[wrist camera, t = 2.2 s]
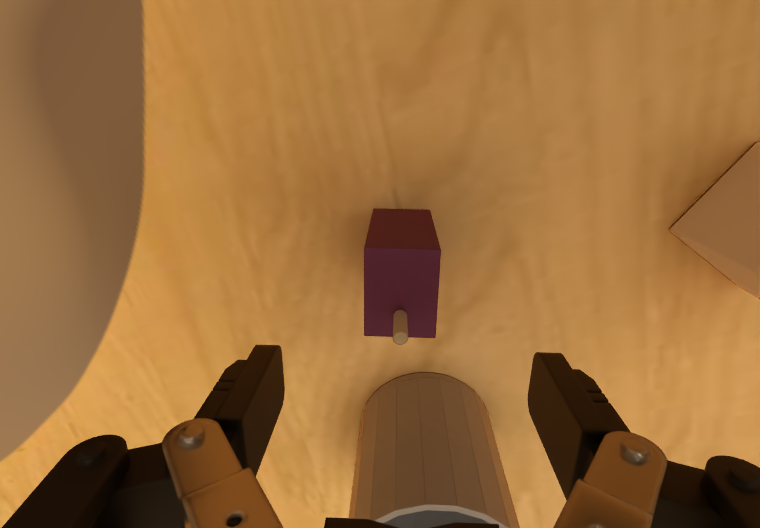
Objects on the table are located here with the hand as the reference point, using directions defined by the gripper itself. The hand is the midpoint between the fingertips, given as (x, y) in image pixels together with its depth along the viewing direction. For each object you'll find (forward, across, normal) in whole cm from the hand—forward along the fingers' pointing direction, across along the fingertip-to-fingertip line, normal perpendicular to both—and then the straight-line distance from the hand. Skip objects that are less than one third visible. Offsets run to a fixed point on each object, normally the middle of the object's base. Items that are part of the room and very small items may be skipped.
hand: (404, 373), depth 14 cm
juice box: (+12, 0, 0) cm, 13 cm away
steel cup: (+13, -2, +13) cm, 18 cm away
